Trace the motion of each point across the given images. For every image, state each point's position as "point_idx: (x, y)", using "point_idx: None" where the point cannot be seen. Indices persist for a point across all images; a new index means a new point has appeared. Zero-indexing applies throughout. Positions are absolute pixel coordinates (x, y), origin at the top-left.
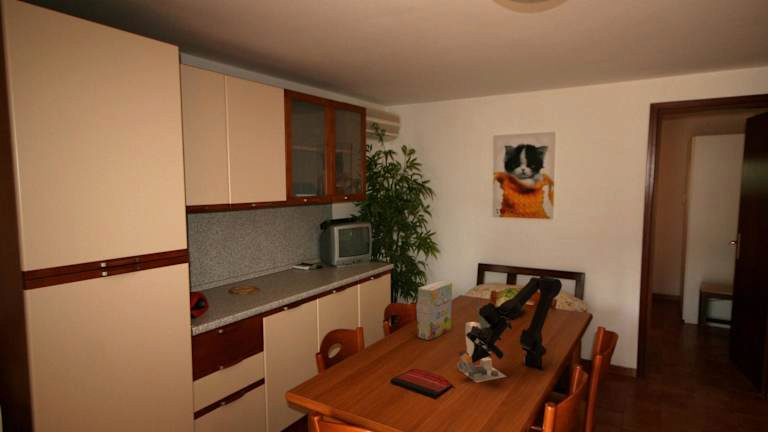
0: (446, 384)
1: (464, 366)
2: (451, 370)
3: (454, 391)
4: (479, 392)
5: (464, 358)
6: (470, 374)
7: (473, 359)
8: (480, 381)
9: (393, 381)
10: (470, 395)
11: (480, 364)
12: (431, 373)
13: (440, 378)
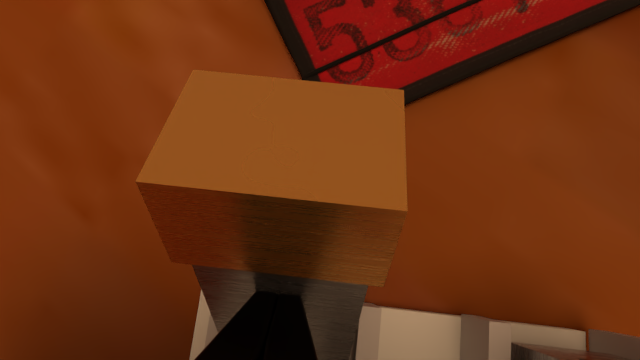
0: (327, 10)
1: (500, 340)
2: (626, 271)
3: (218, 30)
4: (78, 210)
5: (254, 84)
6: None
7: (216, 337)
8: (194, 346)
9: None
10: (86, 104)
11: None
12: (600, 15)
13: (459, 26)
